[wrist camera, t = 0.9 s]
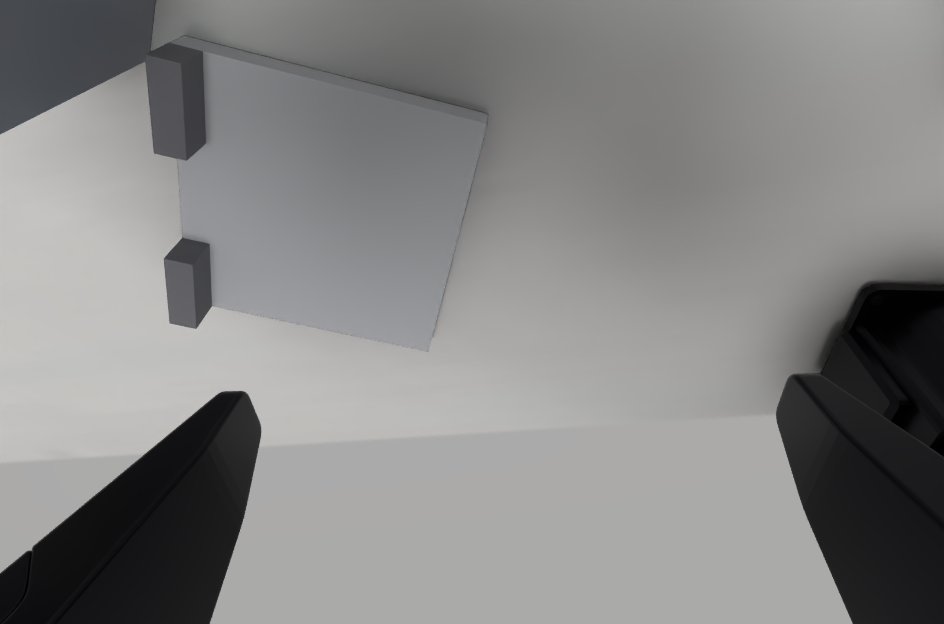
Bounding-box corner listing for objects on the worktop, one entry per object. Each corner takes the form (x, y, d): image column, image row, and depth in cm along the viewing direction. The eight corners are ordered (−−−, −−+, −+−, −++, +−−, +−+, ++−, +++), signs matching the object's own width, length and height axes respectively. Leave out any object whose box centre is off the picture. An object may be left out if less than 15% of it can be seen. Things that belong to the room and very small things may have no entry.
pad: (488, 113, 20) (485, 140, 18) (430, 336, 25) (424, 375, 23) (183, 35, 19) (144, 54, 17) (197, 286, 24) (169, 323, 22)
